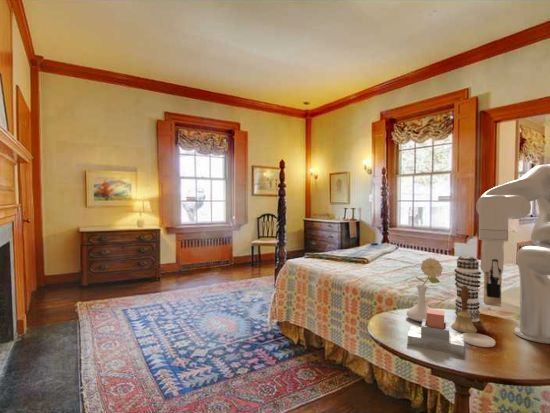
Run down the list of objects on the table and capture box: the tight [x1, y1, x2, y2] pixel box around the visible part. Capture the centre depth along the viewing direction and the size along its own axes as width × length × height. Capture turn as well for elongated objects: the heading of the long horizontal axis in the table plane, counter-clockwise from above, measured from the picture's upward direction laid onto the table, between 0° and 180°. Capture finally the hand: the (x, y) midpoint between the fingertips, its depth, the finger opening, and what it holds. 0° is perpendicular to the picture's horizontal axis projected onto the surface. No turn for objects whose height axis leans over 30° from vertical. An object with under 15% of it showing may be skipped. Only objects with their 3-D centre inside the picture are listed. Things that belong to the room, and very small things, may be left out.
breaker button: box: [427, 308, 445, 329], centre depth 107 cm, size 5×5×4 cm
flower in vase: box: [406, 257, 444, 323], centre depth 129 cm, size 13×11×25 cm
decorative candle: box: [454, 255, 482, 323], centre depth 132 cm, size 9×9×25 cm
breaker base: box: [407, 319, 465, 356], centre depth 107 cm, size 16×10×6 cm, turn 61°
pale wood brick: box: [483, 271, 503, 308], centre depth 99 cm, size 4×4×10 cm
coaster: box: [461, 332, 496, 348], centre depth 110 cm, size 10×10×1 cm
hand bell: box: [450, 286, 478, 333], centre depth 121 cm, size 8×8×16 cm
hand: (492, 294), depth 99 cm, fingers closed on pale wood brick, 4 cm apart
